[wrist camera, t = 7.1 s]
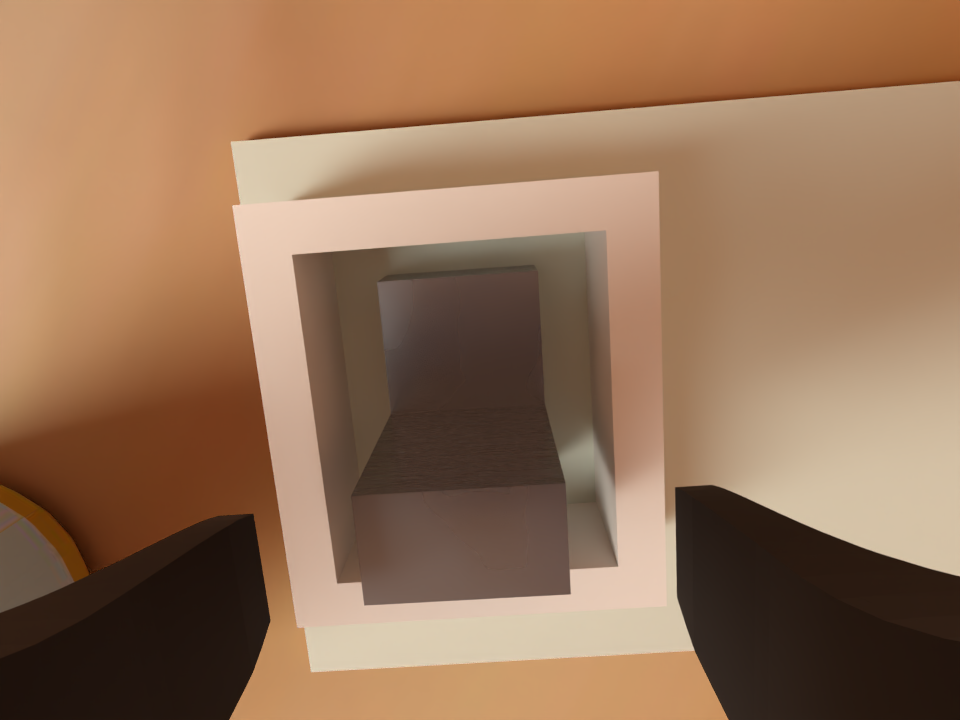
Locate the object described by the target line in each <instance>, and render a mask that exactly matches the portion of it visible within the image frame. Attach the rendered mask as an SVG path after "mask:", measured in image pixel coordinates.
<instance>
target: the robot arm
mask: <svg viewBox="0 0 960 720" xmlns="http://www.w3.org/2000/svg"><path fill="white" fill-rule="evenodd" d="M675 516H676V575H677V599H678V602H679V605H680V609H681V612H682V615H683V618H684V621H685V624H686V627H687V630H688V633H689V636H690V639H691V642H692V645H693V648H694V650H695V652H696V654H697V656H698V658H699V660H700V663H701V665H702V667H703V669H704V671H705V673H706V675H707V677H708V679H709V681H710V683H711V685H712V687H713V689H714V691H715V693H716V695H717V697H718V699H719V701H720V703H721V705H722V707H723V709H724V711H725V713H726V715H727V717H728V719H729V720H960V576H956V575H952V574H948V573H945V572H941V571H937V570H933V569H929V568H926V567H922V566H919V565H916V564H912V563H909V562H906V561H903V560H899V559H896V558H893V557H890V556H886V555H883V554H880V553H877V552H874V551H871V550H868V549H865V548H862V547H860V546H857V545H854V544H852V543H849V542H847V541H844V540H841V539H839V538H836V537H834V536H831V535H829V534H826V533H824V532H821V531H819V530H816V529H814V528H812V527H809V526H807V525H805V524H802V523H800V522H798V521H795V520H793V519H791V518H789V517H787V516H784V515H782V514H780V513H778V512H776V511H773V510H771V509H769V508H767V507H765V506H763V505H760V504H758V503H756V502H754V501H752V500H750V499H747V498H745V497H743V496H741V495H738V494H736V493H734V492H732V491H729V490H727V489H724V488H721V487H718V486H714V485H701V486H686V487H675ZM269 623H270V615H269V608H268V602H267V596H266V590H265V584H264V577H263V571H262V565H261V559H260V552H259V546H258V540H257V534H256V527H255V521H254V515H253V514H243V515H227V516H217V517H214V518H210V519H207V520H205V521H202V522H199V523H197V524H195V525H192V526H190V527H188V528H186V529H184V530H182V531H179V532H177V533H175V534H173V535H171V536H169V537H167V538H165V539H163V540H161V541H159V542H157V543H155V544H153V545H151V546H149V547H147V548H145V549H143V550H141V551H139V552H137V553H135V554H133V555H131V556H129V557H127V558H125V559H123V560H121V561H118V562H116V563H114V564H112V565H110V566H108V567H106V568H104V569H101V570H99V571H97V572H95V573H93V574H91V575H88V576H86V577H84V578H82V579H80V580H78V581H75V582H73V583H71V584H69V585H67V586H65V587H63V588H60V589H58V590H56V591H54V592H51V593H49V594H47V595H44V596H42V597H39V598H37V599H34V600H32V601H30V602H27V603H25V604H22V605H20V606H17V607H14V608H12V609H9V610H6V611H4V612H1V613H0V720H229V719H230V717H231V715H232V713H233V711H234V709H235V707H236V705H237V703H238V701H239V699H240V697H241V695H242V693H243V691H244V689H245V687H246V685H247V683H248V681H249V679H250V677H251V675H252V673H253V670H254V668H255V665H256V662H257V659H258V657H259V654H260V651H261V648H262V645H263V642H264V639H265V636H266V633H267V630H268V626H269Z"/></svg>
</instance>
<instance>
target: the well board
mask: <svg viewBox="0 0 960 720" xmlns="http://www.w3.org/2000/svg"><path fill="white" fill-rule="evenodd" d="M231 146H232V153H233V159H234V166H235V173H236V179H237V186H238V192H239V199H240V205H232V207H233V214H234V220H235V227H236V233H237V240H238V246H239V253H240V259H241V266H242V272H243V279H244V285H245V292H246V298H247V305H248V311H249V318H250V324H251V331H252V337H253V344H254V350H255V357H256V363H257V370H258V376H259V383H260V389H261V396H262V402H263V409H264V415H265V422H266V428H267V434H268V441H269V447H270V454H271V460H272V467H273V473H274V480H275V486H276V493H277V499H278V506H279V512H280V519H281V525H282V532H283V538H284V545H285V551H286V558H287V564H288V571H289V577H290V584H291V590H292V597H293V603H294V610H295V616H296V623H297V628H302V627H304V629H305V635H306V642H307V648H308V655H309V662H310V668H311V672H323V671H340V670H358V669H376V668H394V667H412V666H429V665H447V664H465V663H483V662H501V661H518V660H536V659H554V658H572V657H590V656H607V655H625V654H643V653H661V652H679V651H695V650H694V648H693V645H692V642H691V639H690V636H689V633H688V630H687V627H686V624H685V621H684V618H683V615H682V612H681V609H680V605H679V602H678V599H677V575H676V516H675V487H686V486H701V485H714V486H718V487H721V488H724V489H727V490H729V491H732V492H734V493H736V494H738V495H741V496H743V497H745V498H747V499H750V500H752V501H754V502H756V503H758V504H760V505H763V506H765V507H767V508H769V509H771V510H773V511H776V512H778V513H780V514H782V515H784V516H787V517H789V518H791V519H793V520H795V521H798V522H800V523H802V524H805V525H807V526H809V527H812V528H814V529H816V530H819V531H821V532H824V533H826V534H829V535H831V536H834V537H836V538H839V539H841V540H844V541H847V542H849V543H852V544H854V545H857V546H860V547H862V548H865V549H868V550H871V551H874V552H877V553H880V554H883V555H886V556H890V557H893V558H896V559H899V560H903V561H906V562H909V563H912V564H916V565H919V566H922V567H926V568H929V569H933V570H937V571H941V572H945V573H948V574H952V575H956V576H960V81H952V82H941V83H929V84H917V85H905V86H893V87H881V88H869V89H857V90H845V91H833V92H821V93H809V94H797V95H785V96H773V97H761V98H749V99H737V100H725V101H714V102H702V103H690V104H678V105H666V106H654V107H642V108H630V109H618V110H606V111H594V112H582V113H570V114H558V115H546V116H534V117H522V118H510V119H498V120H487V121H475V122H463V123H451V124H439V125H427V126H415V127H403V128H391V129H379V130H367V131H355V132H343V133H331V134H319V135H307V136H295V137H283V138H272V139H260V140H248V141H236V142H231ZM522 265H534V266H535V267H536V269H537V270H538V283H539V302H540V321H541V340H542V359H543V378H544V397H545V406H546V410H547V414H548V418H549V422H550V425H551V429H552V433H553V437H554V441H555V445H556V448H557V452H558V456H559V460H560V464H561V468H562V471H563V475H564V479H565V483H566V502H567V523H568V544H569V566H570V587H571V594H569V595H551V596H532V597H514V598H496V599H477V600H459V601H440V602H422V603H403V604H385V605H366V606H364V600H363V591H362V583H361V575H360V567H359V559H358V550H357V542H356V534H355V526H354V518H353V509H352V501H351V495H352V493H353V491H354V489H355V487H356V485H357V483H358V480H359V478H360V476H361V474H362V472H363V470H364V468H365V466H366V464H367V462H368V460H369V458H370V456H371V454H372V452H373V449H374V447H375V445H376V443H377V441H378V439H379V437H380V435H381V433H382V431H383V429H384V427H385V425H386V423H387V421H388V419H389V416H390V414H391V410H390V401H389V391H388V382H387V372H386V362H385V353H384V343H383V334H382V324H381V315H380V305H379V296H378V286H377V282H378V281H379V280H381V279H382V278H384V277H385V276H387V275H394V274H409V273H423V272H437V271H451V270H465V269H480V268H494V267H508V266H522Z"/></svg>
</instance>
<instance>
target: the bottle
mask: <svg viewBox="0 0 960 720" xmlns="http://www.w3.org/2000/svg"><path fill="white" fill-rule="evenodd" d="M88 575H89V572H88V569H87V567H86V565H85V563H84V561H83V558H82V556H81V554H80V552H79V550H78V548H77V546H76V544H75V542H74V540H73V539H72V537H71V536H70V535H69V534H68V533H67V531H66V530H65V529H64V528H63V527H62V526H61V525H60V524H59V523H58V522H57V521H56V519H55V518H54V517H53V516H52V515H51V514H50V513H49V512H48V511H46V510H45V509H43V508H42V507H40V506H38V505H37V504H35V503H34V502H32V501H30V500H29V499H27V498H26V497H24V496H22V495H21V494H19V493H17V492H15V491H13V490H11V489H9V488H7V487H5V486H3V485H0V613H1V612H4V611H6V610H9V609H12V608H14V607H17V606H20V605H22V604H25V603H27V602H30V601H32V600H34V599H37V598H39V597H42V596H44V595H47V594H49V593H51V592H54V591H56V590H58V589H60V588H63V587H65V586H67V585H69V584H71V583H73V582H75V581H78V580H80V579H82V578H84V577H86V576H88Z"/></svg>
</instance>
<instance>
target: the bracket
mask: <svg viewBox="0 0 960 720" xmlns="http://www.w3.org/2000/svg"><path fill="white" fill-rule="evenodd" d="M377 286H378V296H379V305H380V315H381V324H382V334H383V343H384V353H385V362H386V372H387V382H388V391H389V401H390V410H391V414H390V416H389V419H388V421H387V423H386V425H385V427H384V429H383V431H382V433H381V435H380V437H379V439H378V441H377V443H376V445H375V447H374V449H373V452H372V454H371V456H370V458H369V460H368V462H367V464H366V466H365V468H364V470H363V472H362V474H361V476H360V478H359V480H358V483H357V485H356V487H355V489H354V491H353V493H352V495H351V501H352V509H353V518H354V526H355V534H356V542H357V550H358V559H359V567H360V575H361V583H362V591H363V600H364V606H366V605H385V604H403V603H422V602H440V601H459V600H477V599H496V598H514V597H532V596H551V595H569V594H571V587H570V566H569V544H568V523H567V502H566V483H565V479H564V475H563V471H562V468H561V464H560V460H559V456H558V452H557V448H556V445H555V441H554V437H553V433H552V429H551V425H550V422H549V418H548V414H547V410H546V406H545V397H544V378H543V359H542V340H541V321H540V302H539V283H538V270H537V269H536V267H535V266H534V265H522V266H508V267H494V268H480V269H465V270H451V271H437V272H423V273H409V274H394V275H387V276H385V277H384V278H382V279H381V280H379V281H378V282H377Z"/></svg>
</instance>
